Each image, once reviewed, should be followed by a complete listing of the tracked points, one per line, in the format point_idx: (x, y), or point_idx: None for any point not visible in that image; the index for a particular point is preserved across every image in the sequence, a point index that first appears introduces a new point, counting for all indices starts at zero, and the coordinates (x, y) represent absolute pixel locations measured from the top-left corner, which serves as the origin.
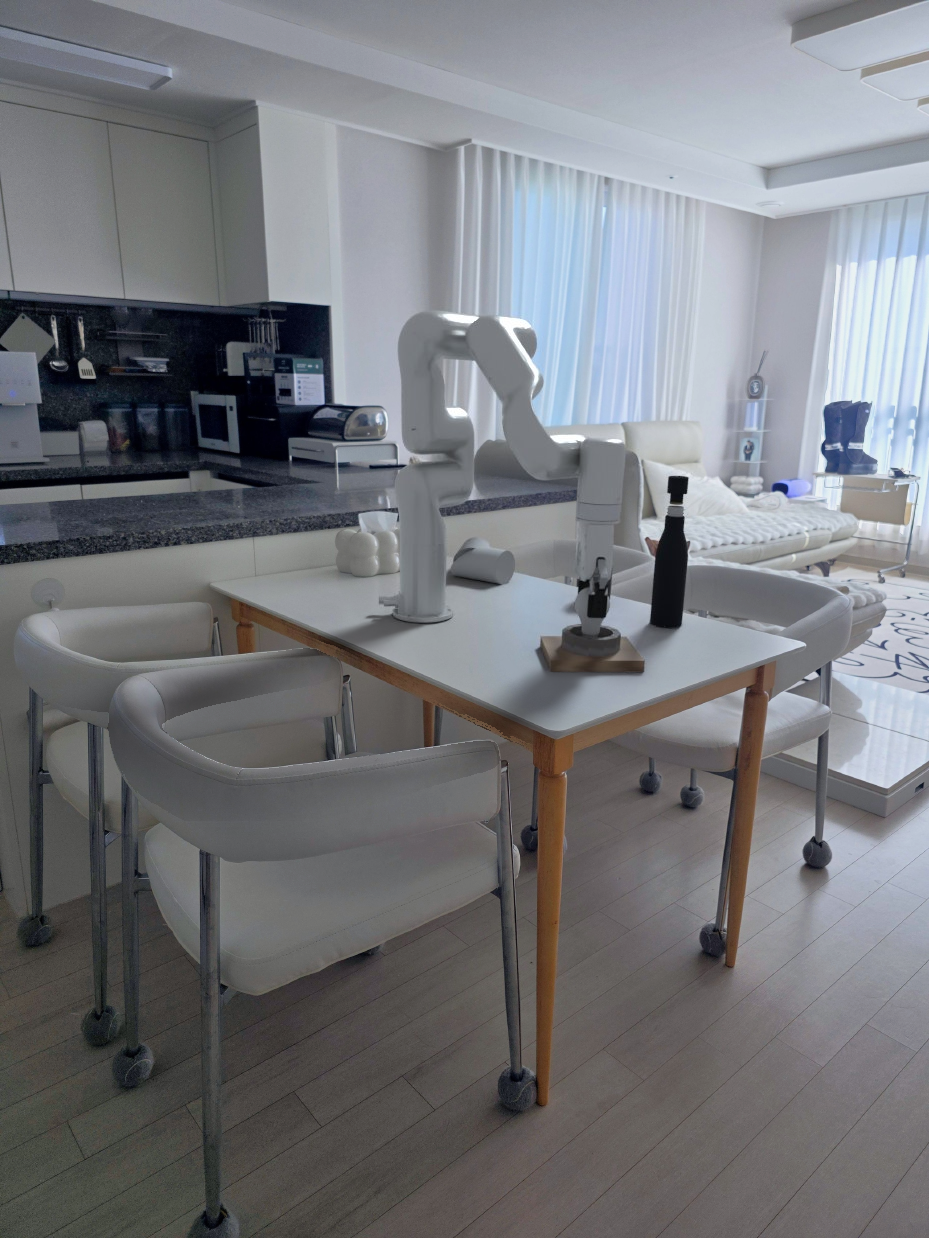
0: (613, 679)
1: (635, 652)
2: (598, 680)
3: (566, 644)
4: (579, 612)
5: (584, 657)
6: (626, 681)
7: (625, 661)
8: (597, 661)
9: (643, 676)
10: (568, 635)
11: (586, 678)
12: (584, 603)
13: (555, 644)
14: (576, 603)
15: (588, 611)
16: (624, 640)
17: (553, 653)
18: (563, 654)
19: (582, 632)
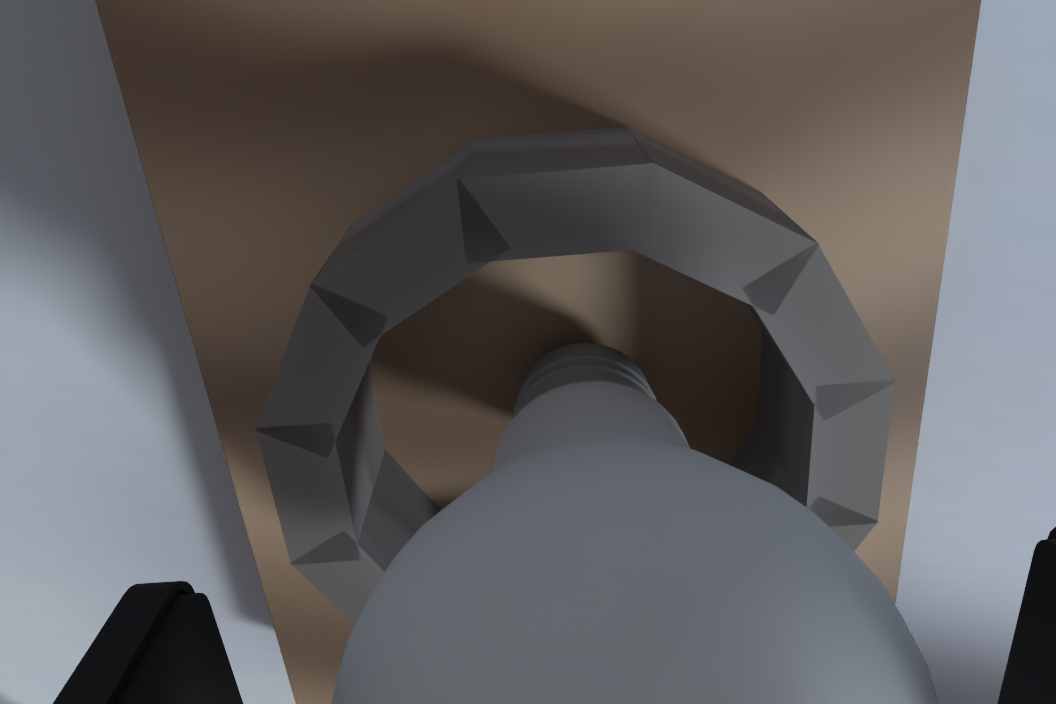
0: (107, 460)
1: None
2: (48, 361)
3: (431, 176)
4: (474, 487)
5: (272, 317)
6: (94, 530)
7: (270, 595)
8: (217, 409)
9: (228, 630)
10: (395, 221)
11: (63, 279)
12: (362, 674)
13: (657, 59)
14: (532, 530)
15: (94, 656)
16: None
17: (332, 16)
18: (316, 125)
19: (561, 386)
